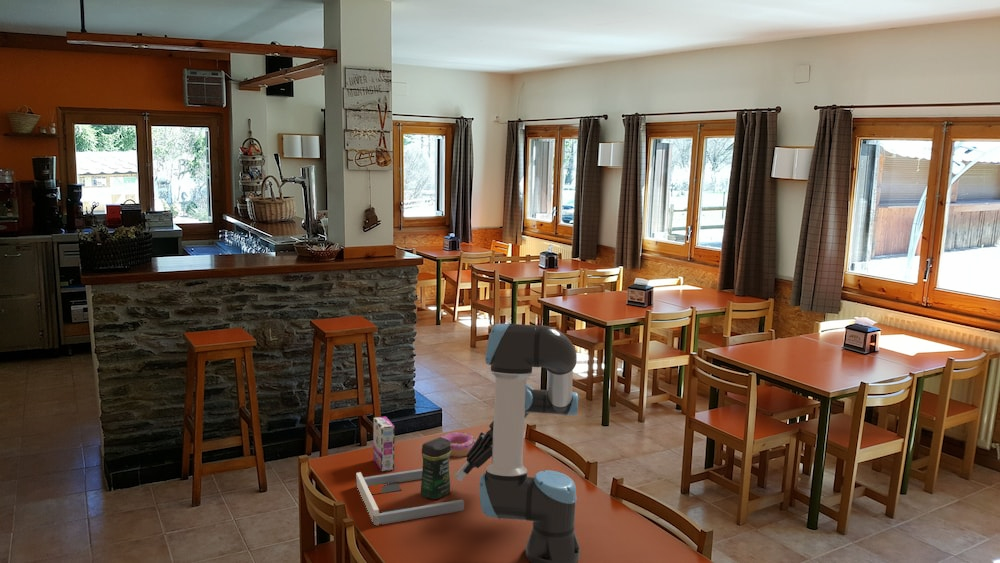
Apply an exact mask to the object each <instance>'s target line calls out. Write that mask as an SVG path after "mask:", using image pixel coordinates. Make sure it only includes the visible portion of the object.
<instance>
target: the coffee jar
mask: <svg viewBox="0 0 1000 563" xmlns="http://www.w3.org/2000/svg"><path fill="white" fill-rule="evenodd" d="M421 446H422V447H421V456H422V469H423V470H422V479H421V484H420V495H421V496H423V497H424V498H425V499H428V500H439V499H441V498H443V497H446V495H449V493H450V492H451V480H450V479H451V478H450V477H451V476H450V457H451V456H450V453H451V443H450V441H449V440H447V439H445V438H442V437H441V436H439V437H437V438H434V439H432V440H431V439H430V440H428V441H427V442H424V443H422V445H421Z"/></svg>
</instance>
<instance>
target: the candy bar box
mask: <svg viewBox="0 0 1000 563" xmlns="http://www.w3.org/2000/svg"><path fill="white" fill-rule="evenodd" d="M395 428H396V427H395V425H394V424H393V423H392V422H391V420H390V419H389V418H388V417H387V416H386V415H385V416H379V417H377V416H376V417H373V446H372V447H373V459H372V460H373V462H374V461H375V462H376V463H375V462H374V463H375V465H376V464H377V465H376V466H377V468H378V469H379V470H380V472H381V471H386V472H392V471H395V431H396V430H395ZM389 470H390V471H389ZM391 470H392V471H391Z"/></svg>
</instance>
